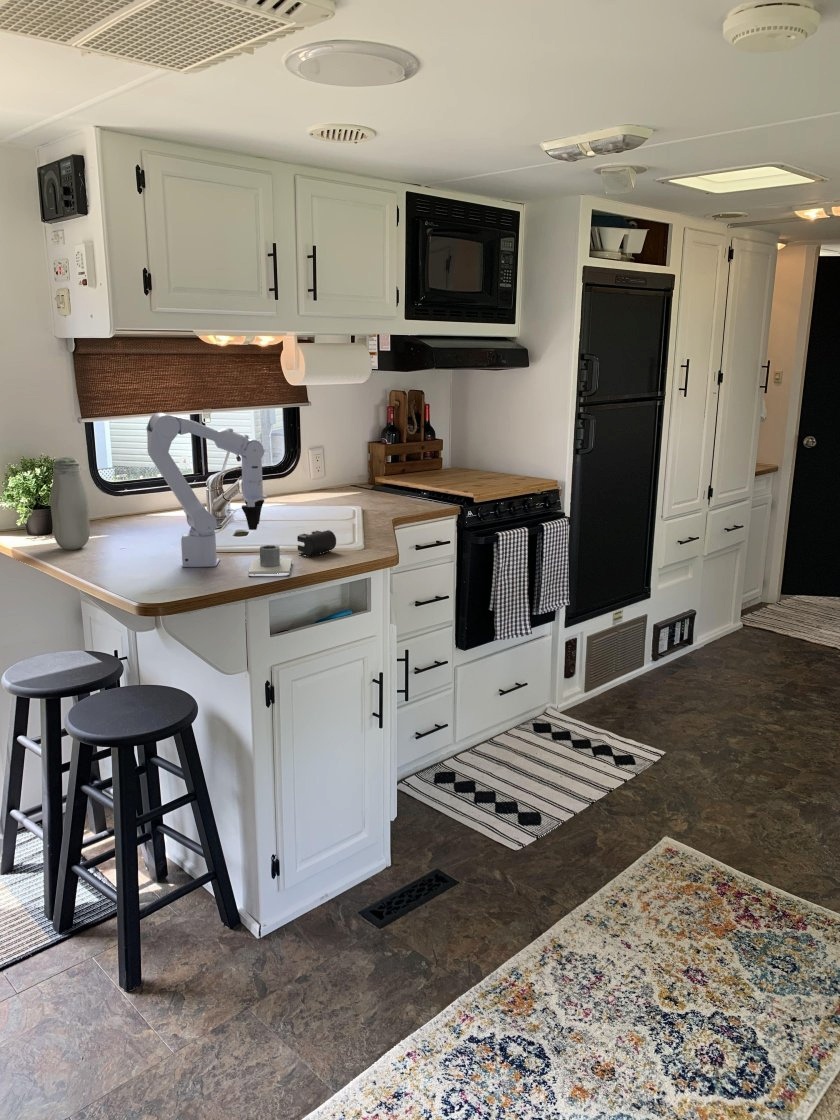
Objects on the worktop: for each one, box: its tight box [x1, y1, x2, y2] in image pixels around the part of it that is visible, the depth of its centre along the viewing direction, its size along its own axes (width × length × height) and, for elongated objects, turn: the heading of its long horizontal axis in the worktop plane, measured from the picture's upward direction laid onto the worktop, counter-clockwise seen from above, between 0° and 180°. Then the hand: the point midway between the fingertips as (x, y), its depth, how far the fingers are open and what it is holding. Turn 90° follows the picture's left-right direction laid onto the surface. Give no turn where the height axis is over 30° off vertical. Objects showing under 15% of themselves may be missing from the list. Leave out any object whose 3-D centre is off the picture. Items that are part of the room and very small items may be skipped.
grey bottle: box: [49, 456, 91, 551], centre depth 256 cm, size 10×10×28 cm
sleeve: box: [259, 544, 281, 567], centre depth 236 cm, size 5×5×5 cm
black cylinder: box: [297, 529, 337, 557], centre depth 255 cm, size 10×7×7 cm
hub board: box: [247, 557, 293, 575], centre depth 237 cm, size 11×14×6 cm
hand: (254, 526), depth 248 cm, fingers open, 7 cm apart
